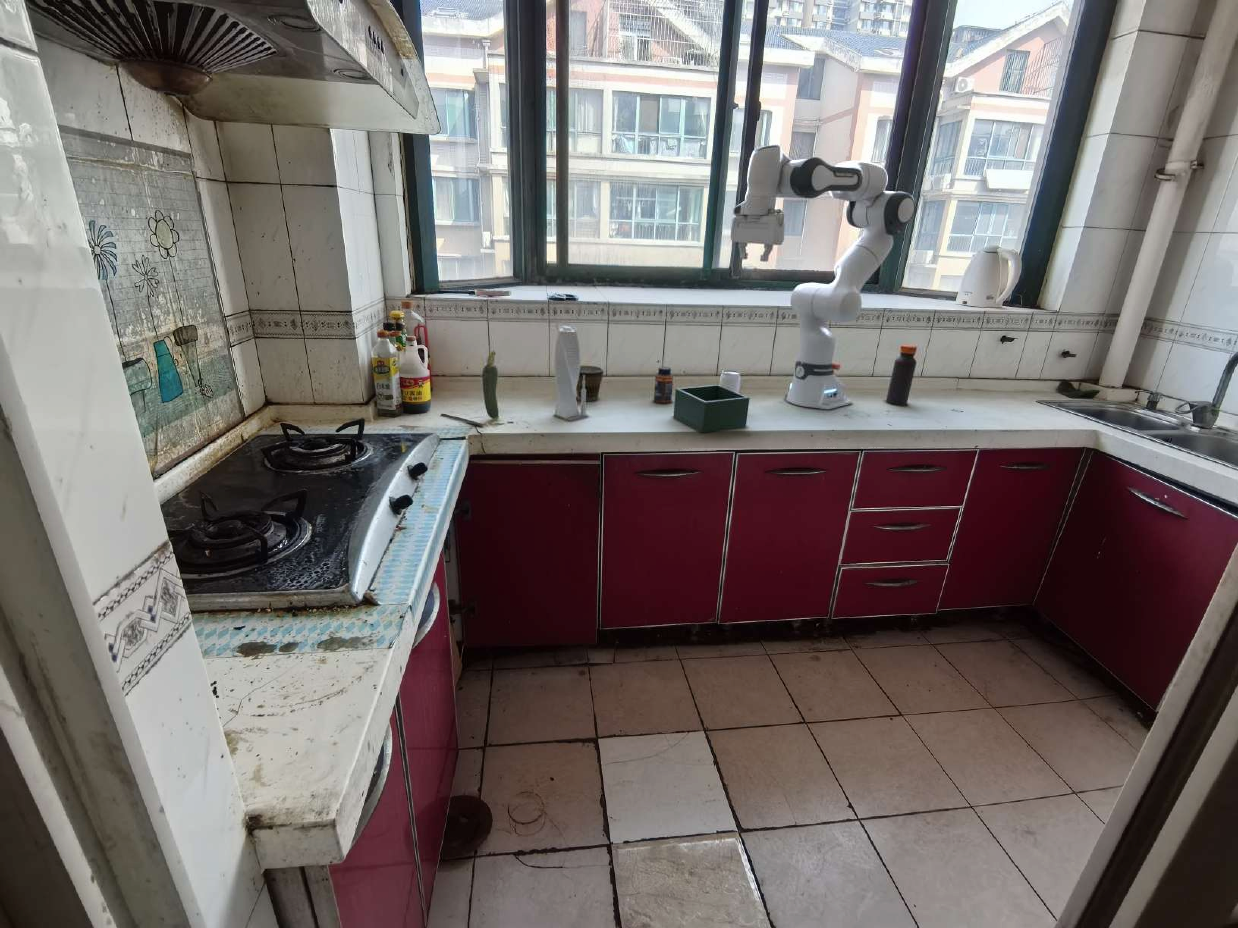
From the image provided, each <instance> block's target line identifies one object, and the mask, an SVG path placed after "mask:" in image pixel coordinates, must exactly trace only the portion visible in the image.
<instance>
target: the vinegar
mask: <svg viewBox="0 0 1238 928" xmlns="http://www.w3.org/2000/svg"><path fill="white" fill-rule="evenodd" d="M917 349H918V347H917V346H916V345H912V344H901V345H900V349H899V354H900V355H899V356H897V357H896V358H895V360H894V363H893V367H892V372H891V376H890V380H889V381H890V382H889V386H888V391H887V395H886V399H885V401H886V403H887V404H891V405H895V406H906V405H907V404H908V400H909V396H910V392H911V389H912V388H911V387H912V383H913V379H914V375H915V371H916V367H917V360H916V359H915V355H916V354H917Z"/></svg>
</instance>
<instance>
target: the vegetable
mask: <svg viewBox="0 0 1238 928" xmlns="http://www.w3.org/2000/svg"><path fill="white" fill-rule="evenodd" d="M496 353H497V352H496V351H494V350H492V351H490V353H489V354H488V356H487V359H486V365H485V366H484V367H483V370H482V375H481V376H482V392H483V399H484V406H485V411H486V414H487V415H488V417H489V418H491V420H493V421H494V420H495V421H498V419H499V417H500V416H499V413H500V412H499V406H498V405H499V404H498V399H497V386H498V385H497V384H498V379H499V370H498V367H497V366H496V365H495V364H494V363H495V356H496V355H497V354H496Z"/></svg>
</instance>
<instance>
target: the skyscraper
mask: <svg viewBox="0 0 1238 928" xmlns="http://www.w3.org/2000/svg"><path fill="white" fill-rule="evenodd" d="M555 327H556V331H557V337H556V340H555V341H556V342H555V346H554V347H555V349H554V360H553V361H554V363H553V364H554V378H555V385H556V389H557V393H558V395H557V400H556V405H555V410H554V414H553V415H554V417H557V418H560V419H563V420H565V421H568V422H574V421H577V420H581V419H584V418H588V414H587V401H586V389H585V381H584V377H585V375H583V388H582V389H581V400H580V406H579V407H580V411H579V407H578V402H577V397H576V387H577V383H578V378H579V372H580V366H581V348H580V340H579V336H578V327H577V326H574V325H572V324H571V323H568V322H564V321H563V322H562V321H560V322H556V323H555Z"/></svg>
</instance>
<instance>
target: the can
mask: <svg viewBox="0 0 1238 928" xmlns="http://www.w3.org/2000/svg"><path fill="white" fill-rule="evenodd" d="M741 379H742V378H741V372H740V371H737V370H731V369H725V370H722V371H721V374H720V377H719V384H718V385H720V386H723V387H725V388H727V389H730V390H732V391H735V392H737V393H739V394H740V387H741Z"/></svg>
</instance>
